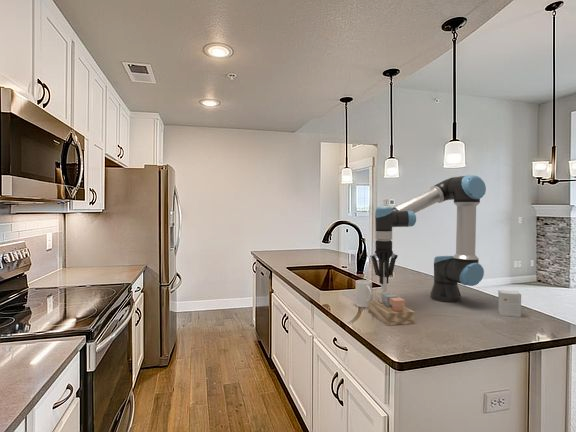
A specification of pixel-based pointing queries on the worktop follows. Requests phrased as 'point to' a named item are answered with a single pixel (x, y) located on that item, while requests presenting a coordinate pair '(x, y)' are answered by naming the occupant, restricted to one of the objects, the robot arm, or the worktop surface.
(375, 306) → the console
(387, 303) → the slate key
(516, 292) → the small box
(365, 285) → the mug
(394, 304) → the terracotta key
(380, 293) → the ivory key
